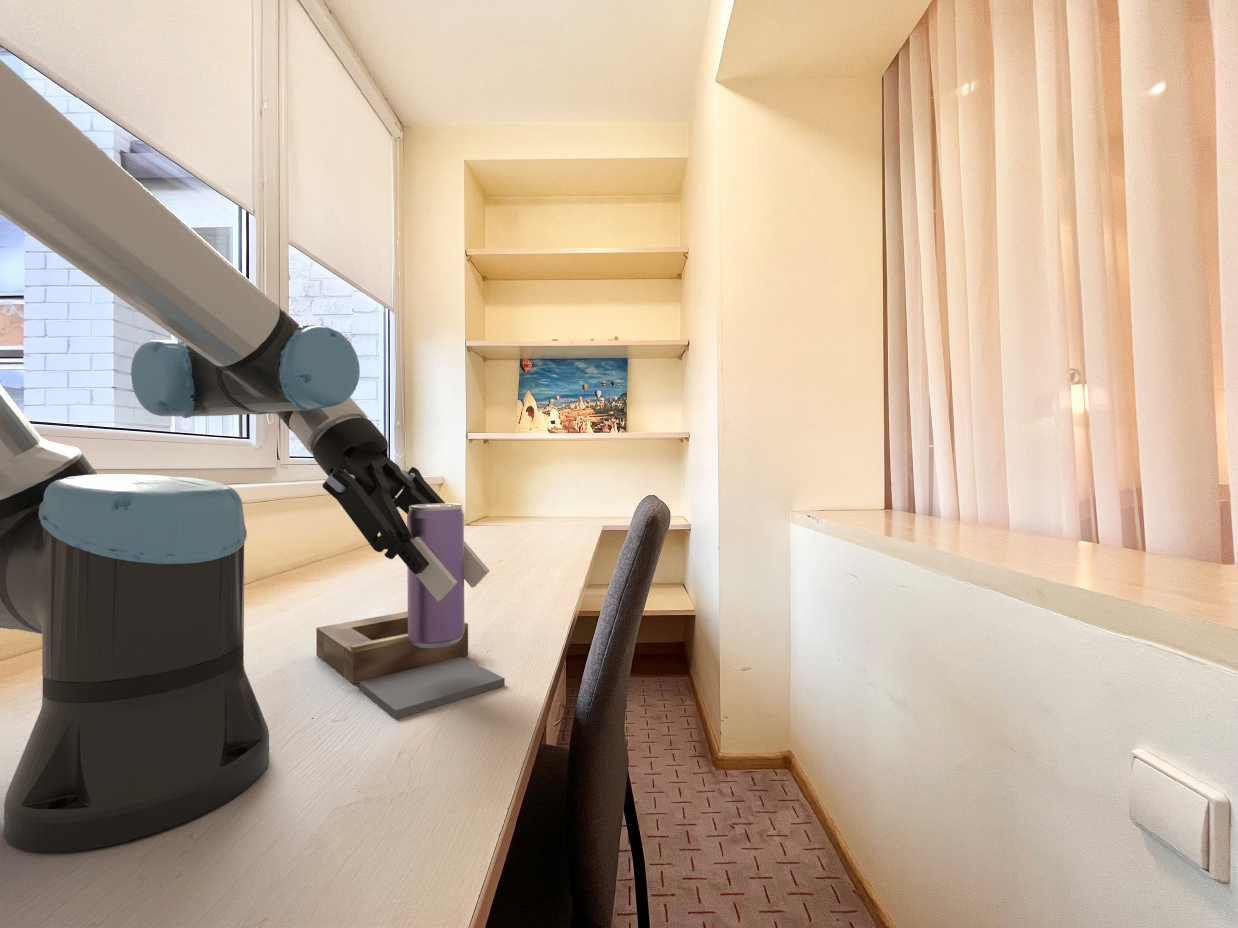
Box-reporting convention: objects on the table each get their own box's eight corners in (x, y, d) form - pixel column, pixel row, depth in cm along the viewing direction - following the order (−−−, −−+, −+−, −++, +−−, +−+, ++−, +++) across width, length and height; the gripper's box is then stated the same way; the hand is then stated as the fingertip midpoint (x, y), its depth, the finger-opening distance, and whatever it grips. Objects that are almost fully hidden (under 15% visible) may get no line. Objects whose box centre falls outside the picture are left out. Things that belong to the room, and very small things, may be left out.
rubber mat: (395, 718, 54) (395, 710, 54) (359, 689, 62) (359, 681, 62) (504, 685, 62) (504, 678, 63) (461, 663, 70) (461, 656, 70)
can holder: (353, 684, 63) (353, 647, 63) (316, 654, 73) (316, 622, 73) (468, 655, 73) (468, 623, 73) (421, 632, 83) (421, 604, 83)
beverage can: (455, 649, 60) (454, 507, 60) (399, 649, 60) (397, 507, 60) (471, 632, 66) (470, 503, 66) (419, 632, 66) (419, 503, 66)
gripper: (378, 461, 76) (488, 589, 72) (250, 460, 58) (385, 632, 53) (412, 420, 75) (526, 549, 70) (291, 406, 57) (433, 579, 52)
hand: (464, 584), depth 62 cm, fingers closed on beverage can, 6 cm apart
